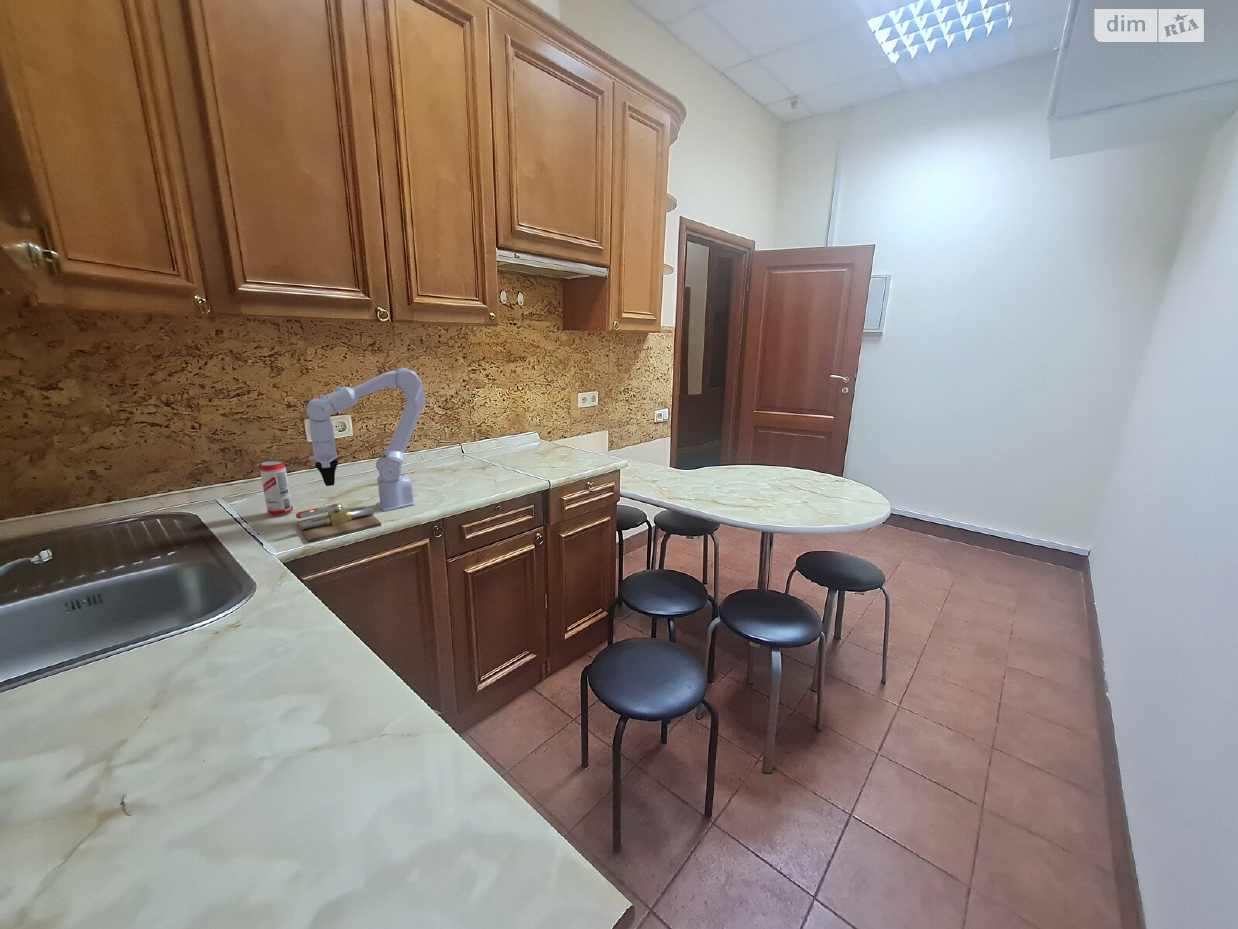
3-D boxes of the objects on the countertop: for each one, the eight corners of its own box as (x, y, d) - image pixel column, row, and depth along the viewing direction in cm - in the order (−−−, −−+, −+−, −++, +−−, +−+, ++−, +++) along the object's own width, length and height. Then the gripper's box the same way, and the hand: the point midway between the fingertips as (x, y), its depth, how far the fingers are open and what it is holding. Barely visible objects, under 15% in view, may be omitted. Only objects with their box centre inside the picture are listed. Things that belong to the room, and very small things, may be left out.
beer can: (280, 518, 141) (271, 466, 136) (263, 516, 142) (253, 464, 138) (298, 510, 147) (289, 460, 142) (281, 508, 148) (272, 459, 144)
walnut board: (365, 510, 148) (364, 507, 148) (381, 525, 137) (380, 522, 136) (296, 524, 136) (296, 521, 136) (308, 543, 125) (307, 539, 125)
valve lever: (340, 507, 137) (339, 501, 137) (343, 510, 135) (342, 504, 135) (295, 517, 129) (294, 511, 129) (297, 520, 127) (296, 514, 127)
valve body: (370, 514, 144) (368, 500, 143) (374, 518, 141) (372, 504, 140) (300, 529, 132) (298, 515, 131) (303, 534, 129) (301, 519, 128)
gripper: (308, 437, 142) (315, 480, 146) (305, 447, 130) (313, 494, 134) (335, 435, 146) (341, 477, 149) (335, 444, 134) (342, 490, 137)
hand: (330, 485), depth 142 cm, fingers closed
